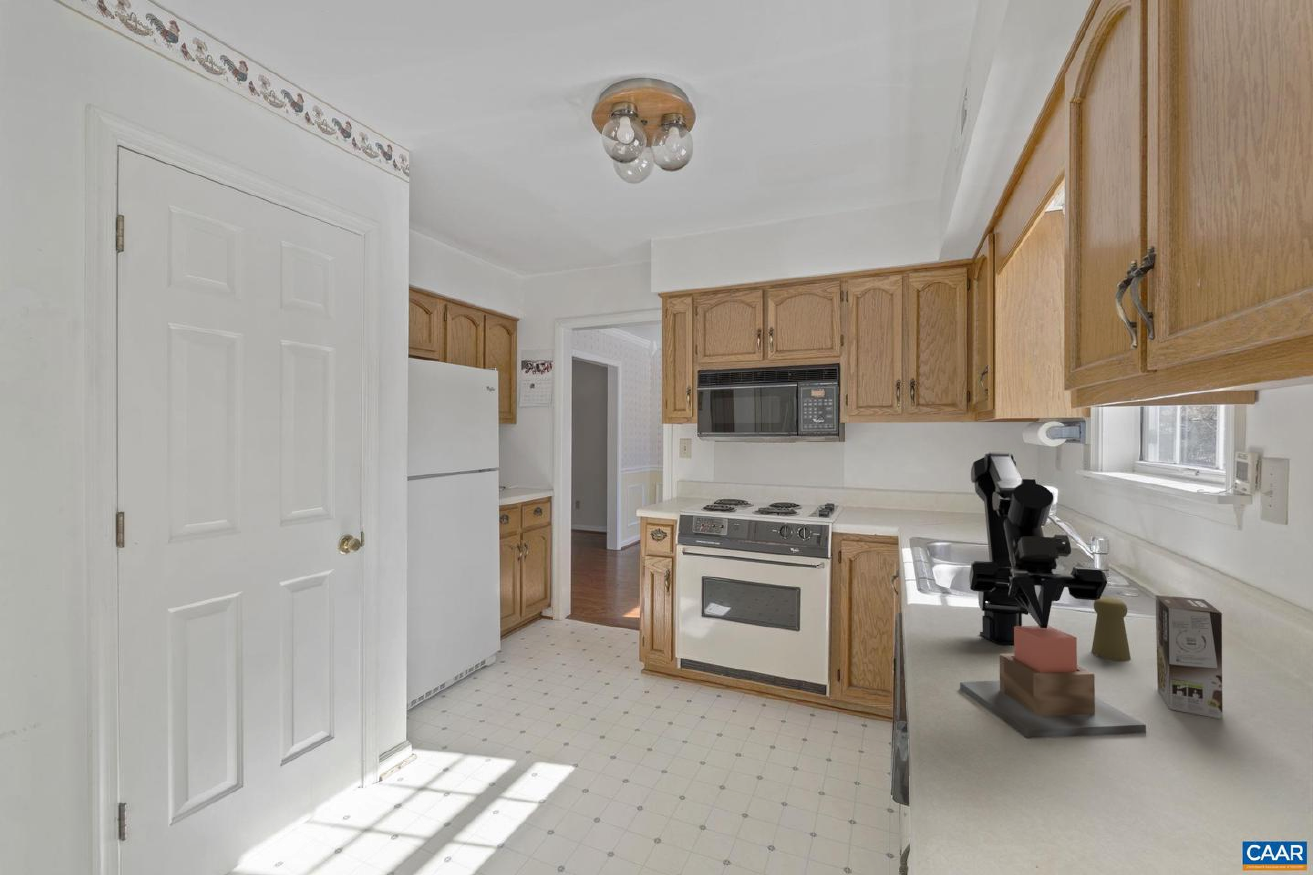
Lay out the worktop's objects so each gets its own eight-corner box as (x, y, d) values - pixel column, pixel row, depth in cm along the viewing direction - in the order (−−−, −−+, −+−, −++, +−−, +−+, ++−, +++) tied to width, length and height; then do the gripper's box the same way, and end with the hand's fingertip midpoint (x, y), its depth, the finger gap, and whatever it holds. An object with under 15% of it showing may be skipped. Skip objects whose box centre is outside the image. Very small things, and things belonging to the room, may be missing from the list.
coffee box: (1225, 720, 85) (1223, 613, 85) (1168, 710, 89) (1167, 606, 89) (1207, 696, 93) (1206, 598, 93) (1155, 687, 97) (1154, 593, 97)
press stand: (1060, 685, 98) (1060, 643, 98) (1146, 732, 82) (1145, 683, 82) (960, 689, 97) (959, 646, 97) (1026, 738, 81) (1026, 687, 81)
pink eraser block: (1048, 661, 93) (1048, 625, 93) (1077, 676, 87) (1076, 637, 87) (1014, 663, 92) (1014, 626, 92) (1040, 678, 86) (1040, 638, 86)
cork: (1095, 657, 110) (1094, 600, 110) (1088, 647, 115) (1087, 593, 115) (1134, 662, 107) (1134, 604, 107) (1126, 652, 112) (1125, 596, 113)
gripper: (970, 514, 98) (982, 594, 88) (1102, 518, 91) (1131, 606, 81) (964, 551, 105) (975, 629, 95) (1086, 557, 98) (1111, 643, 88)
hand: (1044, 626), depth 90 cm, fingers closed
